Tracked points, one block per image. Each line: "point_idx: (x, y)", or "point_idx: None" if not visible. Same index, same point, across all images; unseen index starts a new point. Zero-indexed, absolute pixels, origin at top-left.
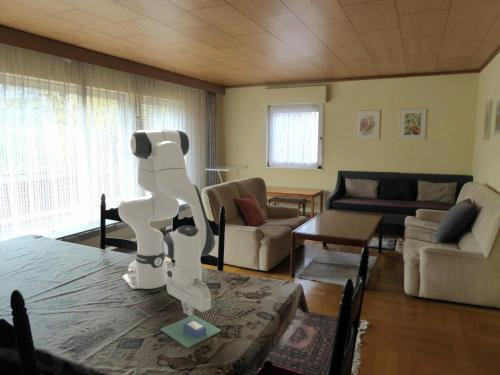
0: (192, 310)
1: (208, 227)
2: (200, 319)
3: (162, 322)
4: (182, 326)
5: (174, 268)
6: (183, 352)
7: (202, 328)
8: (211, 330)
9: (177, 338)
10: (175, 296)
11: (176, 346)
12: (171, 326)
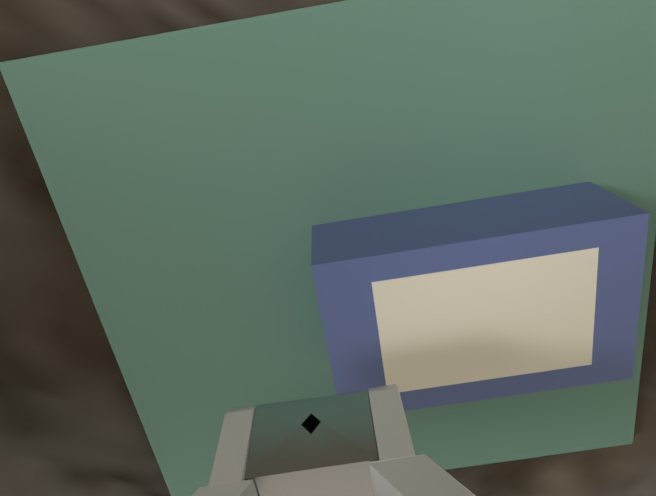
0: (415, 456)
1: None
2: (202, 50)
3: (32, 439)
4: (251, 333)
5: None
6: (646, 476)
7: (637, 279)
8: (578, 78)
9: (439, 454)
10: None
11: (526, 485)
12: (184, 420)
